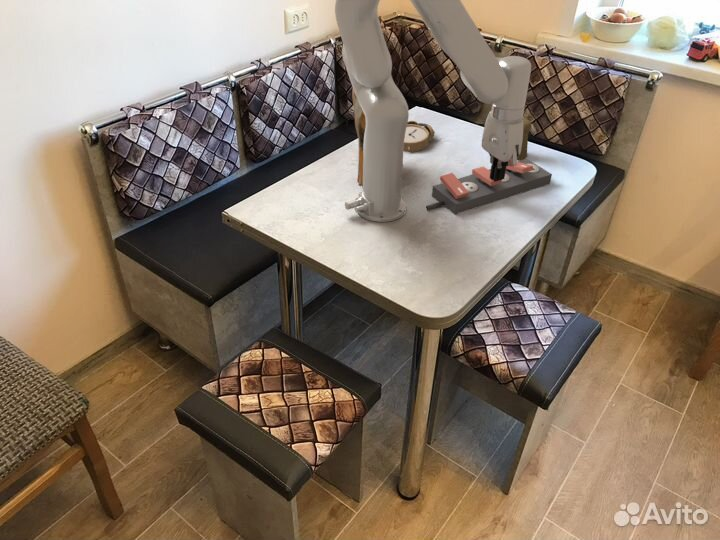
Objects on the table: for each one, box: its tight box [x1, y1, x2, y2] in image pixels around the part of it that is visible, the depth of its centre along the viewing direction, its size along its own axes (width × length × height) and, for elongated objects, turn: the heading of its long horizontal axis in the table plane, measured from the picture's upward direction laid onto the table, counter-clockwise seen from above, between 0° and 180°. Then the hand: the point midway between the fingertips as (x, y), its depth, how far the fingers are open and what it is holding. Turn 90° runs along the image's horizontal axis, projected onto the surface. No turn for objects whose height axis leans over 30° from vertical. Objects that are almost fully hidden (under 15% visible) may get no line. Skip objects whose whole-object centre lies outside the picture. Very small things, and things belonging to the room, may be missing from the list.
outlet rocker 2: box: [471, 166, 502, 186], centre depth 161 cm, size 4×8×2 cm, turn 30°
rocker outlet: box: [506, 162, 533, 173], centre depth 165 cm, size 4×8×2 cm, turn 30°
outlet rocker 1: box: [439, 172, 469, 199], centre depth 157 cm, size 4×8×2 cm, turn 30°
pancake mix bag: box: [351, 87, 366, 185], centre depth 162 cm, size 7×19×28 cm, turn 143°
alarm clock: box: [403, 120, 436, 153], centre depth 185 cm, size 11×5×15 cm
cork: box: [517, 117, 532, 161], centre depth 177 cm, size 6×6×11 cm
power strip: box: [425, 158, 553, 215], centre depth 162 cm, size 37×10×3 cm, turn 120°
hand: (496, 178), depth 158 cm, fingers closed
